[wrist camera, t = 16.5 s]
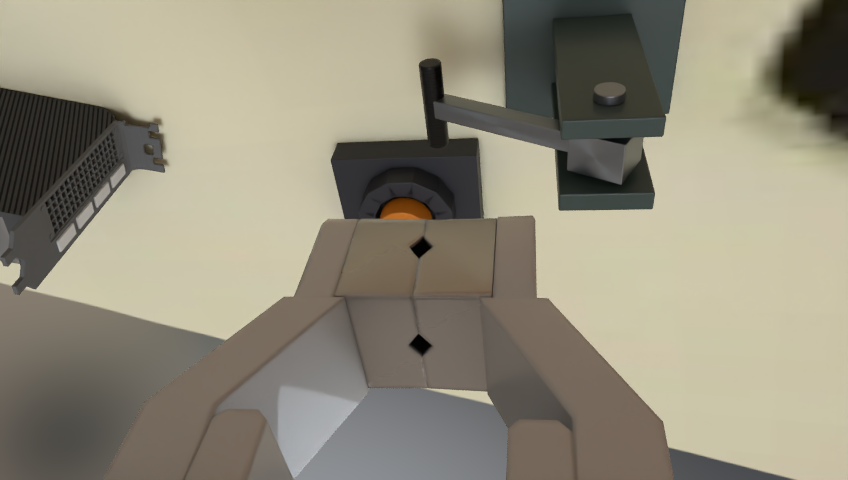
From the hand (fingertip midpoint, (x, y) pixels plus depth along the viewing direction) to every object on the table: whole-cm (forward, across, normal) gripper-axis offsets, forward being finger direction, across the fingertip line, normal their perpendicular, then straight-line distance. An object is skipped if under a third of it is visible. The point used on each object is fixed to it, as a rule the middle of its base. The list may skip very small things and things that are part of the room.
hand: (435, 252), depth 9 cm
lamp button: (+27, +7, +21) cm, 35 cm away
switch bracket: (+31, -5, +11) cm, 33 cm away
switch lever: (+23, -2, +11) cm, 26 cm away
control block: (+31, +7, +21) cm, 38 cm away
